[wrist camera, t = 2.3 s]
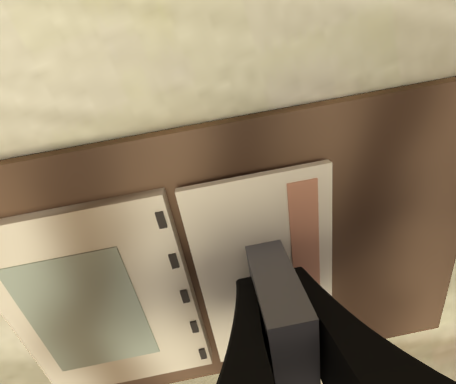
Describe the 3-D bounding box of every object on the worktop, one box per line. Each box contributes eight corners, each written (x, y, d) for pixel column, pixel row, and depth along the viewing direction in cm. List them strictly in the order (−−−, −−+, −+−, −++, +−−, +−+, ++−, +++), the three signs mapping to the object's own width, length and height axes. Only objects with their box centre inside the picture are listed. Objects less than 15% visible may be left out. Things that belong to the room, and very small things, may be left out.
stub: (327, 159, 10) (407, 214, 6) (328, 332, 15) (377, 430, 11) (175, 188, 10) (161, 262, 6) (220, 354, 14) (228, 462, 11)
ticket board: (476, 72, 11) (525, 72, 9) (425, 313, 17) (449, 339, 15) (-68, 172, 10) (-118, 192, 9) (75, 385, 16) (62, 421, 15)
